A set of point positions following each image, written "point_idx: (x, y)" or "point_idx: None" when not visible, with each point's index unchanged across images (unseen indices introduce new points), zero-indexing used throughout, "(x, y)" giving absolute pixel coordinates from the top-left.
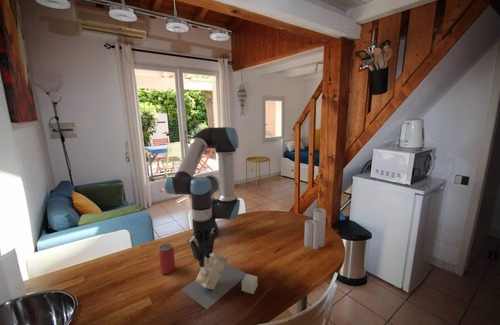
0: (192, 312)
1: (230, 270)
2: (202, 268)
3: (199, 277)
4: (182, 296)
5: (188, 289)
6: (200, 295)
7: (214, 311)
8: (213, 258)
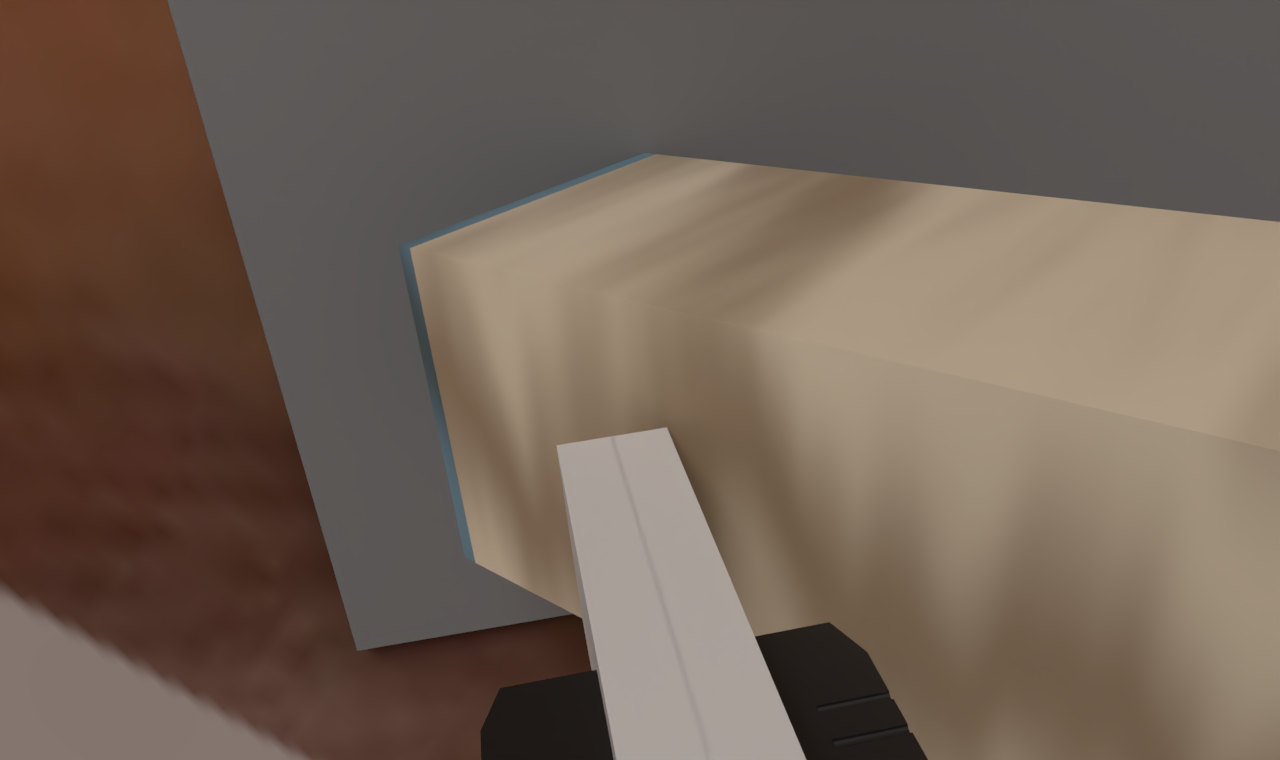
0: (156, 537)
1: (1238, 213)
2: (585, 621)
3: (505, 345)
4: (125, 98)
5: (297, 52)
6: (421, 367)
7: (439, 696)
8: (1112, 738)
